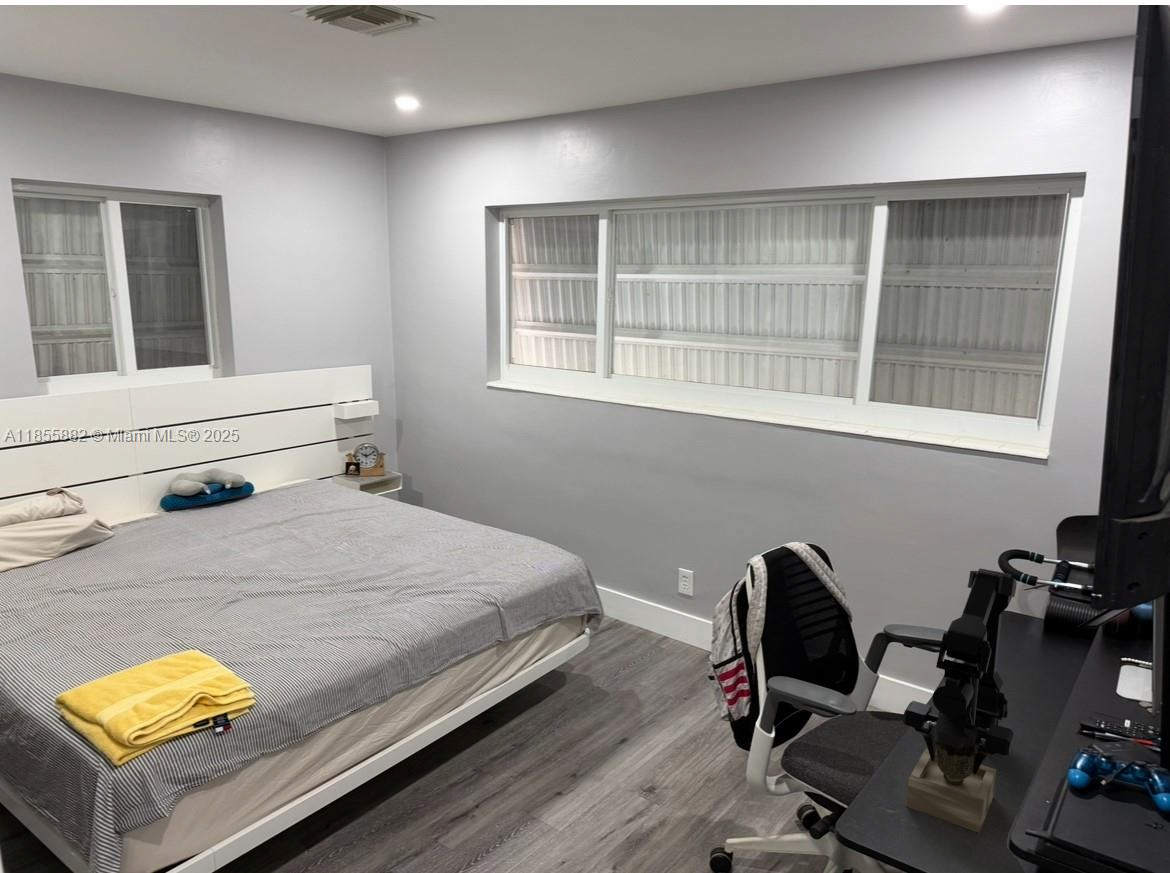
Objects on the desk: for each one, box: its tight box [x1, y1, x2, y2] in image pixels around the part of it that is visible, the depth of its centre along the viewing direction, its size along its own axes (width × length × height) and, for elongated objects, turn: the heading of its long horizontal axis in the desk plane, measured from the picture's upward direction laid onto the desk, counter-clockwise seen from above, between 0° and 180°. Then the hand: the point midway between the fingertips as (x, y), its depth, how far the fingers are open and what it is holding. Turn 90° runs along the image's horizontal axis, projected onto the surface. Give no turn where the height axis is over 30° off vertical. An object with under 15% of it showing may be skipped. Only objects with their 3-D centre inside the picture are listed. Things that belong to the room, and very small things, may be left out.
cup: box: [936, 741, 979, 785], centre depth 157 cm, size 8×7×8 cm
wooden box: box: [906, 746, 997, 834], centre depth 158 cm, size 13×13×6 cm
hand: (953, 766), depth 157 cm, fingers open, 7 cm apart
